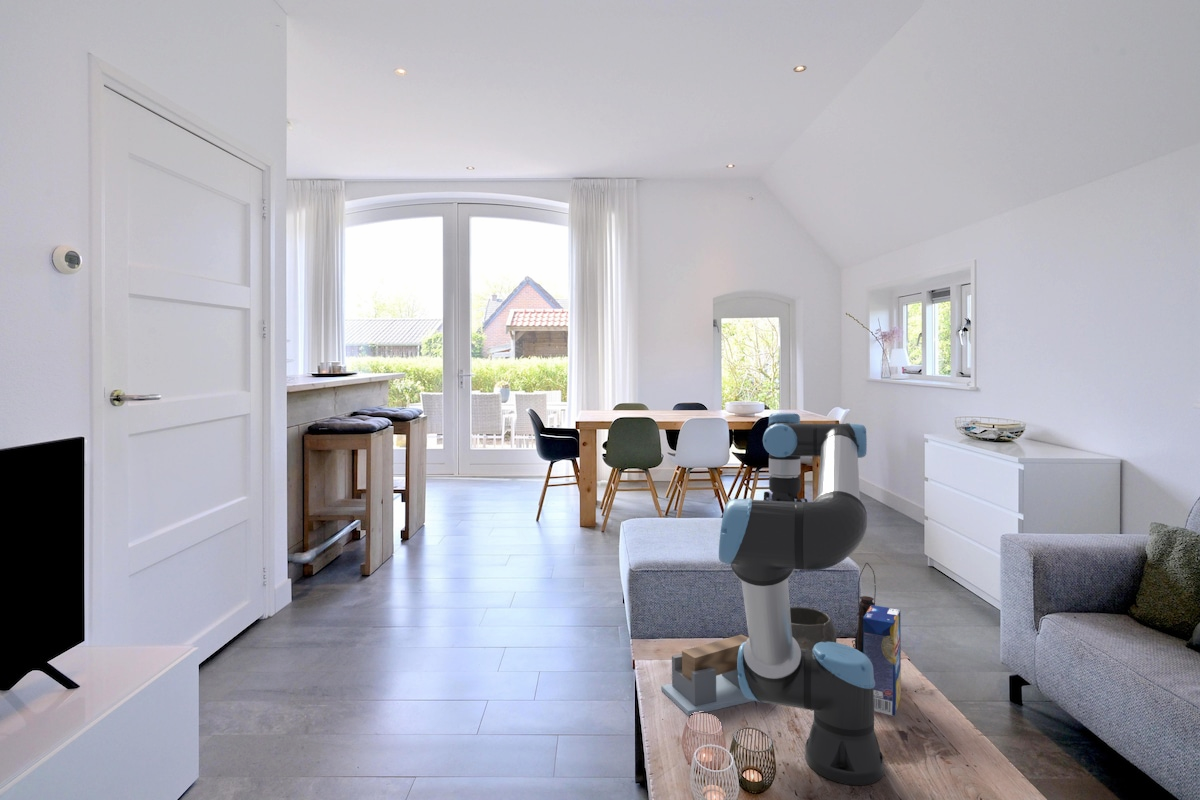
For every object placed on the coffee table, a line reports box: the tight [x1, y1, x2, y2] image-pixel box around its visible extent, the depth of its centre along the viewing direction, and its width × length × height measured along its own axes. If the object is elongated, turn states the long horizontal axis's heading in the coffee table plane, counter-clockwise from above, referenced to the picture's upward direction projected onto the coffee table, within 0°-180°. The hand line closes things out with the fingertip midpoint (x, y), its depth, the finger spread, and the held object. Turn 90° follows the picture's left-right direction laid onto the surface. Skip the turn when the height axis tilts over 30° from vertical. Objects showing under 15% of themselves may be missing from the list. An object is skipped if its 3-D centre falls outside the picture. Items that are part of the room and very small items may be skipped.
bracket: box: [660, 653, 756, 717], centre depth 161 cm, size 14×26×9 cm, turn 112°
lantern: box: [851, 562, 877, 653], centre depth 171 cm, size 8×8×30 cm
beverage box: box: [863, 604, 902, 717], centre depth 155 cm, size 7×11×22 cm, turn 148°
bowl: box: [790, 606, 837, 650], centre depth 181 cm, size 18×18×13 cm
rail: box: [681, 634, 749, 680], centre depth 161 cm, size 20×5×6 cm, turn 121°
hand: (785, 561), depth 156 cm, fingers open, 13 cm apart
